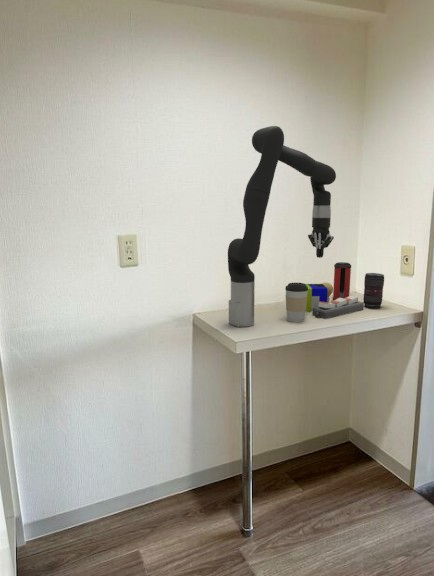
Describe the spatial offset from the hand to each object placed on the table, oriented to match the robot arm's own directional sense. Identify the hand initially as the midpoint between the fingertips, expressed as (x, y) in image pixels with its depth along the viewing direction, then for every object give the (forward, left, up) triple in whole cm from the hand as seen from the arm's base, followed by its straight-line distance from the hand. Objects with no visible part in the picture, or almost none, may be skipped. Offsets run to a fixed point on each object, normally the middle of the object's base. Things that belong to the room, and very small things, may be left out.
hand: (319, 257), depth 181 cm
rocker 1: (-4, -9, -19) cm, 22 cm away
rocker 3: (+10, -9, -19) cm, 24 cm away
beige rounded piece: (+9, +4, -23) cm, 25 cm away
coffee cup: (-19, -6, -23) cm, 31 cm away
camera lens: (+22, -12, -23) cm, 34 cm away
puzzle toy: (-1, +2, -23) cm, 23 cm away
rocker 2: (+3, -9, -19) cm, 22 cm away
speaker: (+20, +4, -23) cm, 31 cm away
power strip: (+3, -9, -23) cm, 25 cm away
